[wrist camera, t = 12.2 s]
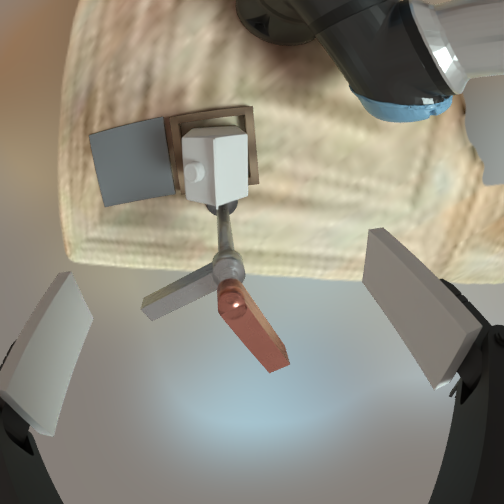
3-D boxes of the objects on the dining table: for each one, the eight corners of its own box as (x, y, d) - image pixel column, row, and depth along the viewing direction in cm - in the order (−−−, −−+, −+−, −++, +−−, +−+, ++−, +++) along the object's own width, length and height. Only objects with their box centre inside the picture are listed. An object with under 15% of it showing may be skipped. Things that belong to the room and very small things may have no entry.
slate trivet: (90, 134, 39) (89, 135, 38) (163, 116, 39) (162, 116, 39) (106, 206, 45) (104, 207, 44) (175, 192, 46) (175, 194, 45)
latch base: (204, 187, 46) (204, 189, 45) (235, 183, 46) (235, 184, 46) (208, 216, 49) (208, 218, 48) (238, 212, 49) (239, 214, 48)
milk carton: (237, 125, 42) (252, 137, 25) (237, 168, 45) (252, 207, 29) (191, 128, 41) (176, 142, 25) (194, 170, 44) (182, 212, 28)
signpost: (199, 273, 53) (196, 398, 29) (164, 224, 47) (127, 340, 24) (257, 244, 51) (293, 362, 28) (225, 189, 46) (240, 287, 22)
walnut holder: (171, 117, 40) (169, 117, 37) (250, 106, 40) (252, 106, 38) (182, 190, 46) (181, 194, 44) (257, 179, 47) (259, 183, 44)
